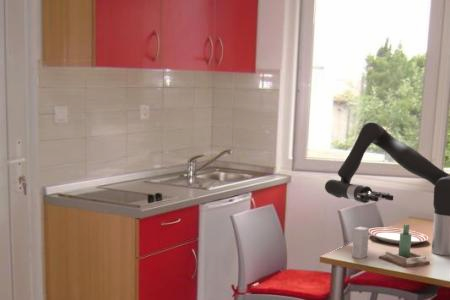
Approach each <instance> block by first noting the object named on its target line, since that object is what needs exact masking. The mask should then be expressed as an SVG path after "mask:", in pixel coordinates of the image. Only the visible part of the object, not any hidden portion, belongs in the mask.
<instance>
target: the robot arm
mask: <svg viewBox="0 0 450 300" xmlns="http://www.w3.org/2000/svg"><path fill="white" fill-rule="evenodd" d="M358 133H359V134H358V135H357V139H356V140H355V143H354V145H353V147H352V149H351V150H350V152H349V154H348V155H347V157H346V159H345V160H344V162H343V163H342V164H341V166H340V168H339V169H338V171H337V175H338V176H339V177H340V178H341V179H340V180H338V179H335V178H333V179H329V180H327V181H326V182H325V184H324V190H325V192H327V193H328V194H329V195H331V196H333V197H335V198H337V199H340V198H344V199H347V200H351V201H354V202H358V203H362V204H367V203H369V202H371V201H372V202H376V203H377V202H379V201H382V200H385V201H394V195H392V194H390V193H389V192H382V191H376V190H373V189H372V188H371V187H370V186H367V185H364V184H363V185H362V184H353V183H351V181H352V178H354V177H353V176H354V175H355V174H356V172H357V171H358V170H359V169H358V168H359V167H360V165H361V163H362V160H363V158H364V154H365V153H366V151H367V149H368V148H369V146H370V145H372V144H373V145H375V146H376V147H378V148H380V149H382V150H383V151H384V152H385V153H388V155H389V156H390V157H391V159H393V160H394V162H396V163H397V164H399V166H401V167H402V168H403V169H405V170H406V171H408V172H409V173H411V174H413V175H416V176H418V177H420V178H422V179H424V180H427V181H428V182H429V183H431V184H432V185H433V186H434V188H433V203H432V204H433V208H434V213H433V224H432V225H433V228H432V239H431V240H432V241H431V253H433V254H436V255H439V256H440V255H441V256H450V174H449V173H448V172H446V171H445V170H442V169H441V168H439V167H437V165H435V164H434V163H432V161H430V160H429V159H428V158H426V157H425V156H423V154H421V153H420V152H418V151H417V150H415V149H414V148H413V147H411V146H409V145H408V144H406V143H404V142H402V141H400V140H398V139H396V138H395V137H394V136H393V135H391V133H389V132H388V131H387V130H386V129H385V128H384V127H383V126H382V125H380V124H378V123H377V122H375V121H367V122H366V123H365V124H363V125H362V128H361V129H360V132H358Z"/></svg>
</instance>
